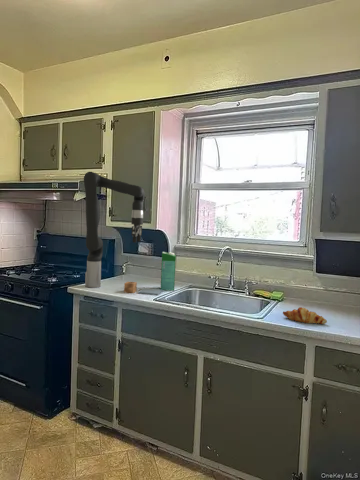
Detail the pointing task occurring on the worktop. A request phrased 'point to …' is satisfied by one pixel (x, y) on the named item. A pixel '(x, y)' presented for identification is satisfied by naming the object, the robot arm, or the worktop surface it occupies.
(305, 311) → the croissant
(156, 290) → the slate mat
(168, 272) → the milk carton
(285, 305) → the worktop surface
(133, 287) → the wood block
